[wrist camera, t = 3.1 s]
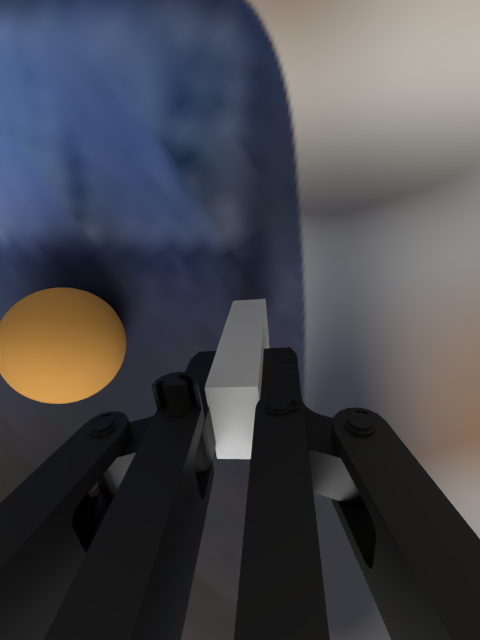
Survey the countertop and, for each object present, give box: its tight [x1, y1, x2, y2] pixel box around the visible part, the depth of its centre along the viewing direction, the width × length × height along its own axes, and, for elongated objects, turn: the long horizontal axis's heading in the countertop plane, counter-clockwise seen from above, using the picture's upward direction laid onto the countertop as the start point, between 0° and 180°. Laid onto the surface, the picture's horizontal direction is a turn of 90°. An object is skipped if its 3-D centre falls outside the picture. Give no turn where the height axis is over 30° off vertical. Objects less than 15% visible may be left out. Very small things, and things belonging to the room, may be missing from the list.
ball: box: [0, 288, 126, 404], centre depth 15 cm, size 6×6×6 cm
